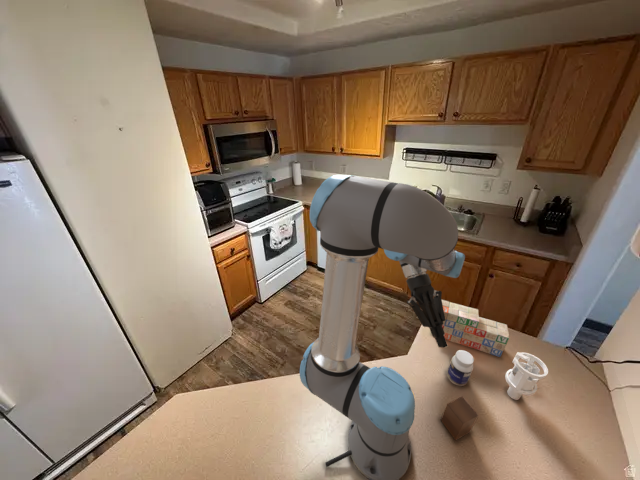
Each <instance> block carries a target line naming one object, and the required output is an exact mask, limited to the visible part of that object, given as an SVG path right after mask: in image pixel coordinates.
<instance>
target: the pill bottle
mask: <svg viewBox="0 0 640 480" xmlns="http://www.w3.org/2000/svg"><path fill="white" fill-rule="evenodd" d="M474 361H475V359H474V357H473V354H471V353H470V352H469V351H466V350H464V349H459V350H457V351H456V352H455V355H453V356H452V357H451V359H450V363H449V365H448V369H447V371H446V376H447V378H448V380H449V381H450V382H451V383H452V384H453V385H456V386H458V387H462V386H466V385H467V384H468V382H469V379H470V377H471V375H472V372H473V370H474Z"/></svg>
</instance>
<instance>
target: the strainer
mask: <svg viewBox="0 0 640 480" xmlns="http://www.w3.org/2000/svg"><path fill="white" fill-rule="evenodd" d="M520 359H521V360H523V361H525V362H523V361H519V360H520ZM526 362H527V363H526ZM535 362H536V363H537V364H538V365H539V366H540V367H541V368H542V370H543V373H542V374H541V373H540V371H541V369H540V367H539V366H538V365H537V364H536V363H535ZM512 364H514V366H513V367H512V368H510V369H508V370H507V371H506V373H505V375H504V379H505V381H506V383H507V384H508V386H509V387H508V388H507V390H506V393H507V395H508V397H509V398H511V399H512V400H515V401H517V400H520V398H521V396H522V395H523V396H528V397H529V396H533V395H535V394H536V393H537V391H538V384H537V383H538V382H539V380H543V379H545V378H546V377H547V376H548V374H549V369H548V366H547V365H546V363H545V362H544V361H543V360H541V358H539V357H538V356H536V355H533V354H532V353H528V352H523V351H521V352H519V351H517V352H516V354H515V356H514V357H513V360H512Z"/></svg>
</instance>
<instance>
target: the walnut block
mask: <svg viewBox="0 0 640 480" xmlns="http://www.w3.org/2000/svg"><path fill="white" fill-rule="evenodd" d="M478 417H479V414H478V412H477V411H476V410H475V409H474V408H473V407H472V405H470V404H469V402H468V401H467V400H466V399H465V398H464V397H463V396H460V397H457V398H455V399H454V400H452V401H449V402H447V403H446V406H445V409H444V411H443V414H442V416H441V419H440V422H441V423H442V424H443V425H444V427H445V428H446V429H447V431H448V432H449V433H450V435H451V436H452V438H453V439H454V440H455V441H457V440H458V439H460V438H462V437H464V436H466V435H467V434H469V433H471V431H472V429H473V427H474V426H475V423H476V422H477V419H478Z"/></svg>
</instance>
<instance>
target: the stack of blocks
mask: <svg viewBox="0 0 640 480" xmlns="http://www.w3.org/2000/svg"><path fill="white" fill-rule="evenodd" d="M442 305H443V310H444V315H445V321H443V325H442V327H443V330H444V333H445V334H444V337H445V340H446V341H450V342H453V343H455V344H458V345H462V346H465V347H468V348H472V349H474V350H478V351H481V352H484V353H486V354H489V355H491V356H495V357H499V358H501V357H502V355H503V352H504V351H505V349H506V347H507V344H508V342H509V339H510V334H509V328H508V324H505V323H502V322H498V321H495V320H493V319H488V318H484V317H481V316H480V315H479V312H480V311H479V310H480V309H478V308H474V307H470V306H466V305H462V304H459V303H455V302H451V301H449V300H445V299H442Z"/></svg>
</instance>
